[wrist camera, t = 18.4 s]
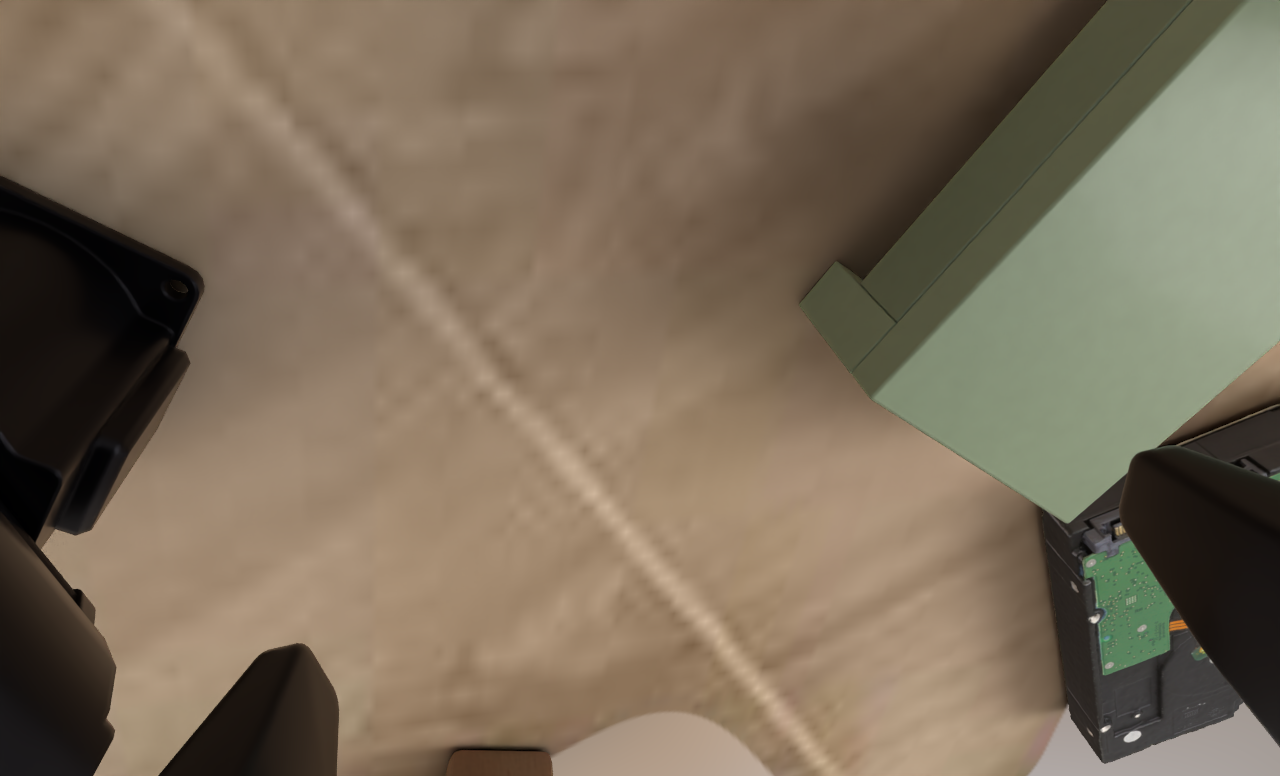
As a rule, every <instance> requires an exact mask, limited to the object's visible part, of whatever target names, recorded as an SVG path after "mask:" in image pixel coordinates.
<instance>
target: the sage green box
mask: <svg viewBox="0 0 1280 776" xmlns="http://www.w3.org/2000/svg"><path fill="white" fill-rule="evenodd" d="M799 306H800V308H801V309H802V310H803V312H804V313H805V314H806V316H807V317H808V318H809V319H810V321H811V322H812V323H813V325H814V326H815V327H816V329H817V330H818V331H819V333H820V334H821V335H822V337H823V338H824V339H825V341H826V342H827V343H828V345H829V346H830V347H831V348H832V350H833V351H834V352H835V354H836V355H837V356H838V358H839V359H840V360H841V362H842V363H843V364H844V366H845V367H846V368H847V370H848V371H849V372H850V373H851V374H852V375H853V377H854V378H855V379H856V381H857V382H858V383H859V385H860V386H861V387H862V389H863V390H864V391H865V393H866V394H867V395H868V397H869V398H870V399H871V400H873V401H874V402H876V403H877V404H879V405H880V406H882V407H884V408H885V409H887V410H888V411H890V412H891V413H893V414H895V415H896V416H898V417H899V418H901V419H902V420H904V421H906V422H907V423H909V424H910V425H912V426H913V427H915V428H917V429H918V430H920V431H921V432H923V433H924V434H926V435H928V436H929V437H931V438H932V439H934V440H935V441H937V442H939V443H940V444H942V445H943V446H945V447H946V448H948V449H950V450H951V451H953V452H954V453H956V454H957V455H959V456H961V457H962V458H964V459H965V460H967V461H968V462H970V463H972V464H973V465H975V466H976V467H978V468H979V469H981V470H983V471H984V472H986V473H987V474H989V475H990V476H992V477H994V478H995V479H997V480H998V481H1000V482H1001V483H1003V484H1005V485H1006V486H1008V487H1009V488H1011V489H1012V490H1014V491H1016V492H1017V493H1019V494H1020V495H1022V496H1023V497H1025V498H1027V499H1028V500H1030V501H1031V502H1033V503H1034V504H1036V505H1038V506H1039V507H1041V508H1042V509H1044V510H1045V511H1047V512H1049V513H1050V514H1052V515H1053V516H1055V517H1057V518H1058V519H1060V520H1061V521H1063V522H1065V523H1070V522H1071V521H1072V520H1073V519H1074V518H1076V517H1077V516H1078V515H1079V514H1080V513H1081V512H1083V511H1084V510H1085V509H1086V508H1087V507H1088V506H1089V505H1091V504H1092V503H1093V502H1094V501H1095V500H1096V499H1098V498H1099V497H1100V496H1101V495H1102V494H1103V493H1104V492H1106V491H1107V490H1108V489H1109V488H1110V487H1111V486H1113V485H1114V484H1115V483H1116V482H1117V481H1118V480H1120V479H1121V478H1122V477H1123V476H1124V475H1125V474H1126V473H1128V469H1129V465H1130V462H1131V460H1132V458H1133V457H1134V456H1135V455H1136V454H1137V453H1139V452H1141V451H1146V450H1150V449H1155V448H1157V447H1158V446H1159V445H1160V444H1161V443H1162V442H1163V441H1165V440H1166V439H1167V438H1168V437H1169V436H1170V435H1172V434H1173V433H1174V432H1175V431H1176V430H1177V429H1179V428H1180V427H1181V426H1182V425H1183V424H1184V423H1185V422H1187V421H1188V420H1189V419H1190V418H1191V417H1192V416H1194V415H1195V414H1196V413H1197V412H1198V411H1199V410H1200V409H1202V408H1203V407H1204V406H1205V405H1206V404H1207V403H1209V402H1210V401H1211V400H1212V399H1213V398H1214V397H1216V396H1217V395H1218V394H1219V393H1220V392H1221V391H1222V390H1224V389H1225V388H1226V387H1227V386H1228V385H1229V384H1231V383H1232V382H1233V381H1234V380H1235V379H1236V378H1237V377H1239V376H1240V375H1241V374H1242V373H1243V372H1244V371H1246V370H1247V369H1248V368H1249V367H1250V366H1251V365H1253V364H1254V363H1255V362H1256V361H1257V360H1258V359H1259V358H1261V357H1262V356H1263V355H1264V354H1265V353H1266V352H1268V351H1269V350H1270V349H1271V348H1272V347H1273V346H1275V345H1276V344H1277V343H1278V342H1279V341H1280V0H1107V2H1106V3H1105V4H1104V5H1103V6H1102V7H1101V8H1100V10H1099V11H1098V12H1097V13H1096V14H1095V15H1094V16H1093V18H1092V19H1091V20H1090V21H1089V22H1088V23H1087V24H1086V26H1085V27H1084V28H1083V29H1082V30H1081V31H1080V32H1079V34H1078V35H1077V36H1076V37H1075V38H1074V39H1073V40H1072V42H1071V43H1070V44H1069V45H1068V46H1067V47H1066V48H1065V50H1064V51H1063V52H1062V53H1061V54H1060V55H1059V57H1058V58H1057V59H1056V60H1055V61H1054V62H1053V63H1052V65H1051V66H1050V67H1049V68H1048V69H1047V70H1046V71H1045V73H1044V74H1043V75H1042V76H1041V77H1040V78H1039V79H1038V81H1037V82H1036V83H1035V84H1034V85H1033V86H1032V87H1031V89H1030V90H1029V91H1028V92H1027V93H1026V94H1025V95H1024V97H1023V98H1022V99H1021V100H1020V101H1019V102H1018V103H1017V105H1016V106H1015V107H1014V108H1013V109H1012V110H1011V111H1010V113H1009V114H1008V115H1007V116H1006V117H1005V118H1004V119H1003V121H1002V122H1001V123H1000V124H999V125H998V126H997V127H996V129H995V130H994V131H993V132H992V133H991V134H990V135H989V137H988V138H987V139H986V140H985V141H984V142H983V144H982V145H981V146H980V147H979V148H978V149H977V150H976V152H975V153H974V154H973V155H972V156H971V157H970V158H969V160H968V161H967V162H966V163H965V164H964V165H963V166H962V168H961V169H960V170H959V171H958V172H957V173H956V174H955V176H954V177H953V178H952V179H951V180H950V181H949V182H948V184H947V185H946V186H945V187H944V188H943V189H942V190H941V192H940V193H939V194H938V195H937V196H936V197H935V198H934V200H933V201H932V202H931V203H930V204H929V205H928V206H927V208H926V209H925V210H924V211H923V212H922V213H921V214H920V216H919V217H918V218H917V219H916V220H915V221H914V222H913V224H912V225H911V226H910V227H909V228H908V229H907V230H906V232H905V233H904V234H903V235H902V236H901V237H900V239H899V240H898V241H897V242H896V243H895V244H894V245H893V247H892V248H891V249H890V250H889V251H888V252H887V253H886V255H885V256H884V257H883V258H882V259H881V260H880V261H879V263H878V264H877V265H876V266H875V267H874V268H873V269H872V271H871V272H870V273H869V274H868V275H867V276H866V277H865V279H864V280H862V279H861V278H860V277H858V276H857V275H856V274H854V273H853V272H852V271H850V270H849V269H847V268H846V267H845V266H843V265H842V264H841V263H839V262H837V261H836V262H835V263H834V264H833V265H832V266H831V267H830V268H829V270H828V271H827V272H826V273H825V274H824V275H823V277H822V278H821V279H820V280H819V281H818V283H817V284H816V285H815V286H814V287H813V288H812V290H811V291H810V292H809V293H808V294H807V296H806V297H805V298H804V299H803V300H802V301H801V303H800V304H799Z"/></svg>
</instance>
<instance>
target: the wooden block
mask: <svg viewBox="0 0 1280 776" xmlns="http://www.w3.org/2000/svg"><path fill="white" fill-rule="evenodd" d="M446 776H553V770H552V761H551V758H550V756H549V754H548V753H546V752H543V751H485V750H460V751H456V752H454V753H453V754H452V756H451V758H450V760H449V764H448V768H447V772H446Z"/></svg>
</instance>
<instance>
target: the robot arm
mask: <svg viewBox="0 0 1280 776" xmlns="http://www.w3.org/2000/svg"><path fill="white" fill-rule="evenodd" d="M170 280H177V281H180V282H182V283H183V284H184V285H185V286H186V287H187V289H188V292H186V293H182V292H178V291H177V290H175V289H174V288H173V287H172V286H171V284H170ZM204 287H205V285H204V282H203V278H202V277H201V276H200V275H199V273H198V272H197V271H195V270H194V269H193V268H191V267H190V266H187V265H185V264H183V263H181V262H179V261H177V260H175V259H173V258H171V257H169V256H167V255H165V254H162V253H160V252H158V251H156V250H154V249H152V248H150V247H148V246H146V245H144V244H142V243H139V242H137V241H135V240H133V239H131V238H129V237H127V236H125V235H123V234H121V233H119V232H117V231H114V230H112V229H110V228H108V227H106V226H104V225H102V224H100V223H98V222H96V221H94V220H92V219H89V218H87V217H85V216H83V215H81V214H79V213H77V212H75V211H73V210H71V209H69V208H66V207H64V206H62V205H60V204H58V203H56V202H54V201H52V200H50V199H48V198H46V197H44V196H41V195H39V194H37V193H35V192H33V191H31V190H29V189H27V188H25V187H23V186H21V185H19V184H16V183H14V182H12V181H10V180H8V179H6V178H4V177H2V176H0V776H93V775H94V773H95V771H96V770H97V768H98V766H99V764H100V762H101V760H102V758H103V757H104V755H105V753H106V751H107V749H108V747H109V746H110V744H111V742H112V740H113V738H114V733H115V730H114V728H113V726H112V725H111V723H110V722H109V721H108V720H107V719H106V718H107V715H108V713H109V710H110V705H111V698H112V692H113V686H114V679H115V673H116V665H115V663H114V660H113V658H112V655H111V653H110V650H109V648H108V646H107V643H106V641H105V638H104V637H103V636H102V635H101V633H100V632H99V631H98V630H97V628H96V627H95V626H94V621H95V607H94V606H93V604H92V603H91V602H90V601H89V599H88V598H87V597H86V596H85V594H84V593H83V592H82V591H81V590H79V589H72V588H71V587H70V585H69V584H68V583H67V582H66V580H65V579H64V578H63V577H62V575H61V574H60V573H59V572H58V571H57V569H56V568H55V567H54V566H53V564H52V563H51V562H50V561H49V559H48V558H47V557H46V556H45V554H44V553H43V552H42V551H41V548H42V547H43V546H44V544H45V543H46V541H47V540H48V539H49V537H50V536H51V534H52V533H53V532H54V530H55V529H57V530H60V531H63V532H67V533H70V534H73V535H78V534H81V533H84V532H87V531H90V530H92V528H93V527H94V525H95V523H96V522H97V520H98V519H99V517H100V516H101V514H102V513H103V511H104V510H105V508H106V507H107V505H108V504H109V502H110V501H111V499H112V497H113V496H114V494H115V493H116V491H117V490H118V488H119V487H120V485H121V484H122V482H123V481H124V479H125V478H126V476H127V475H128V473H129V471H130V470H131V468H132V467H133V465H134V464H135V462H136V461H137V459H138V458H139V456H140V455H141V453H142V452H143V450H144V449H145V447H146V445H147V444H148V442H149V441H150V439H151V438H152V436H153V435H154V433H155V432H156V430H157V428H158V426H159V424H160V422H161V420H162V418H163V416H164V414H165V412H166V410H167V408H168V406H169V404H170V402H171V400H172V398H173V396H174V394H175V392H176V390H177V389H178V387H179V385H180V383H181V381H182V379H183V377H184V375H185V373H186V371H187V369H188V367H189V365H190V361H189V359H188V356H187V354H186V352H185V351H182V350H180V349H178V348H176V347H177V345H178V343H179V341H180V339H181V337H182V335H183V333H184V331H185V329H186V327H187V325H188V323H189V321H190V319H191V317H192V315H193V313H194V311H195V309H196V307H197V305H198V303H199V301H200V299H201V297H202V295H203V292H204ZM1119 516H1120V521H1121V523H1122V526H1123V528H1124V530H1125V532H1126V534H1127V535H1128V537H1129V538H1130V540H1131V541H1132V543H1133V544H1134V546H1135V547H1136V549H1137V550H1138V552H1139V554H1140V555H1141V557H1142V558H1143V560H1144V561H1145V563H1146V564H1147V566H1148V567H1149V569H1150V570H1151V572H1152V573H1153V575H1154V577H1155V578H1156V580H1157V581H1158V583H1159V584H1160V586H1161V587H1162V589H1163V590H1164V592H1165V593H1166V595H1167V597H1168V598H1169V600H1170V601H1171V603H1172V604H1173V606H1174V607H1175V609H1176V610H1177V612H1178V613H1179V615H1180V617H1181V618H1182V620H1183V621H1184V623H1185V624H1186V626H1187V627H1188V629H1189V630H1190V632H1191V633H1192V635H1193V636H1194V638H1195V639H1196V640H1197V642H1198V643H1199V645H1200V646H1201V648H1202V649H1203V651H1204V652H1205V653H1206V655H1207V656H1208V657H1209V658H1210V660H1211V661H1212V662H1213V664H1214V665H1215V666H1216V668H1217V669H1218V670H1219V672H1220V673H1221V674H1222V675H1223V677H1224V678H1225V679H1226V680H1227V682H1228V683H1229V684H1230V685H1231V687H1232V688H1233V689H1234V690H1235V692H1236V693H1237V694H1238V695H1239V697H1240V698H1241V699H1242V700H1243V702H1244V703H1245V704H1246V705H1247V707H1248V708H1249V709H1250V710H1251V712H1252V713H1253V714H1254V716H1255V717H1256V718H1257V719H1258V720H1259V722H1260V723H1261V724H1262V725H1263V726H1264V728H1265V729H1266V731H1267V732H1268V733H1269V734H1270V735H1271V737H1272V738H1273V739H1274V741H1275V742H1276V743H1277V744H1278V746H1279V747H1280V481H1278V480H1275V479H1272V478H1269V477H1266V476H1264V475H1261V474H1258V473H1255V472H1252V471H1249V470H1247V469H1244V468H1241V467H1238V466H1235V465H1233V464H1230V463H1227V462H1224V461H1221V460H1218V459H1216V458H1213V457H1210V456H1207V455H1204V454H1202V453H1199V452H1196V451H1193V450H1190V449H1187V448H1185V447H1181V446H1176V445H1168V446H1163V447H1159V448H1155V449H1150V450H1146V451H1141V452H1139V453H1137V454H1136V455H1135V456H1134V457H1133V458H1132V460H1131V462H1130V465H1129V469H1128V473H1127V477H1126V481H1125V485H1124V488H1123V492H1122V496H1121V500H1120V504H1119ZM338 724H339V706H338V699H337V695H336V692H335V690H334V688H333V686H332V684H331V683H330V681H329V679H328V678H327V676H326V674H325V673H324V671H323V669H322V668H321V666H320V664H319V663H318V661H317V659H316V658H315V656H314V654H313V653H312V651H311V650H310V648H309V647H308V646H306V645H305V644H302V643H300V644H299V643H296V644H292V645H288V646H283V647H279V648H274V649H270V650H267V651H265V652H263V653H262V654H260V655H259V656H258V657H257V658H256V659H255V660H254V661H253V663H252V664H251V665H250V666H249V667H248V669H247V670H246V671H245V672H244V673H243V675H242V676H241V677H240V678H239V679H238V681H237V682H236V683H235V684H234V685H233V687H232V688H231V689H230V690H229V691H228V693H227V694H226V695H225V696H224V697H223V699H222V700H221V701H220V702H219V703H218V705H217V706H216V707H215V708H214V709H213V711H212V712H211V713H210V714H209V715H208V717H207V718H206V719H205V720H204V721H203V723H202V724H201V725H200V726H199V727H198V729H197V730H196V731H195V732H194V733H193V735H192V736H191V737H190V738H189V739H188V741H187V742H186V743H185V744H184V745H183V747H182V748H181V749H180V750H179V751H178V753H177V754H176V755H175V756H174V758H173V759H172V760H171V761H170V762H169V764H168V765H167V766H166V767H165V768H164V770H163V771H162V772H161V773H160V774H159V776H337V750H338Z"/></svg>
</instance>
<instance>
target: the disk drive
mask: <svg viewBox="0 0 1280 776" xmlns="http://www.w3.org/2000/svg"><path fill="white" fill-rule="evenodd" d="M1176 446H1181V447H1185V448H1187V449H1190V450H1193V451H1196V452H1199V453H1202V454H1204V455H1207V456H1210V457H1213V458H1216V459H1218V460H1221V461H1224V462H1227V463H1230V464H1233V465H1235V466H1238V467H1241V468H1244V469H1247V470H1249V471H1252V472H1255V473H1258V474H1261V475H1264V476H1266V477H1269V478H1272V479H1275V480H1278V481H1280V404H1277V405H1274V406H1271V407H1269V408H1266V409H1264V410H1261V411H1259V412H1256V413H1254V414H1251V415H1248V416H1246V417H1244V418H1242V419H1239V420H1237V421H1234V422H1232V423H1230V424H1226V425H1224V426H1222V427H1219V428H1217V429H1215V430H1213V431H1209V432H1207V433H1204V434H1202V435H1200V436H1198V437H1195V438H1193V439H1190V440H1187V441H1184V442H1182V443H1180V444H1178V445H1176ZM1126 477H1127V473H1126V474H1125V475H1124V476H1123V477H1122V478H1121V479H1120V480H1118V481H1117V482H1116V483H1115V484H1114V485H1113V486H1111V487H1110V488H1109V489H1108V490H1107V491H1106V492H1104V493H1103V494H1102V495H1101V496H1100V497H1099V498H1098V499H1096V500H1095V501H1094V502H1093V503H1092V504H1091V505H1089V506H1088V507H1087V508H1086V509H1085V510H1084V511H1083V512H1081V513H1080V514H1079V515H1078V516H1077V517H1076V518H1074V519H1073V520H1072V521H1071V522H1070V523H1065V522H1063V521H1061V520H1060V519H1058V518H1057V517H1055V516H1053V515H1052V514H1050V513H1049V512H1047V511H1045V510H1044V509H1042V511H1043V514H1042V524H1043V531H1044V537H1045V545H1046V552H1047V559H1048V567H1049V574H1050V579H1051V581H1050V582H1051V590H1052V595H1053V602H1054V608H1055V614H1056V621H1057V623H1056V624H1057V629H1058V637H1059V643H1060V649H1061V658H1062V664H1063V671H1064V678H1065V685H1066V692H1067V697H1068V704H1069V711H1070V714H1071V719H1072V720H1073V722H1074V723H1075V725H1076V726H1077V728H1078V729H1079V731H1080V732H1081V734H1082V735H1083V736H1084V738H1085V739H1086V740H1087V742H1088V743H1089V745H1090V746H1091V748H1092V749H1093V751H1094V752H1095V753H1096V755H1097V756H1098V757H1099V759H1100V760H1101V762H1103V763H1108V762H1112V761H1115V760H1117V759H1120V758H1123V757H1125V756H1128V755H1131V754H1133V753H1136V752H1139V751H1142V750H1144V749H1146V748H1148V747H1150V746H1151V745H1156V744H1158V743H1161V742H1164V741H1166V740H1168V739H1173V738H1176V737H1178V736H1180V735H1183V734H1187V733H1189V732H1193V731H1197V730H1199V729H1201V728H1204V727H1206V726H1209V725H1212V724H1216V723H1218V722H1221V721H1223V720H1226V719H1228V718H1231V717H1233V716H1234V712H1235V711H1237V710H1238V709H1239V705H1240V704H1242V703H1243V700H1242V699H1241V698H1240V697H1239V695H1238V694H1237V693H1236V692H1235V690H1234V689H1233V688H1232V687H1231V685H1230V684H1229V683H1228V682H1227V680H1226V679H1225V678H1224V677H1223V675H1222V674H1221V673H1220V672H1219V670H1218V669H1217V668H1216V666H1215V665H1214V664H1213V662H1212V661H1211V660H1210V658H1209V657H1208V656H1207V655H1206V653H1205V652H1204V651H1203V649H1202V648H1201V646H1200V645H1199V643H1198V642H1197V640H1196V639H1195V638H1194V636H1193V635H1192V633H1191V632H1190V630H1189V629H1188V627H1187V626H1186V624H1185V623H1184V621H1183V620H1182V618H1181V617H1180V615H1179V613H1178V612H1177V610H1176V609H1175V607H1174V606H1173V604H1172V603H1171V601H1170V600H1169V598H1168V597H1167V595H1166V593H1165V592H1164V590H1163V589H1162V587H1161V586H1160V584H1159V583H1158V581H1157V580H1156V578H1155V577H1154V575H1153V573H1152V572H1151V570H1150V569H1149V567H1148V566H1147V564H1146V563H1145V561H1144V560H1143V558H1142V557H1141V555H1140V554H1139V552H1138V550H1137V549H1136V547H1135V546H1134V544H1133V543H1132V541H1131V540H1130V538H1129V537H1128V535H1127V534H1126V532H1125V530H1124V528H1123V526H1122V523H1121V521H1120V516H1119V504H1120V500H1121V496H1122V492H1123V488H1124V485H1125V481H1126Z"/></svg>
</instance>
